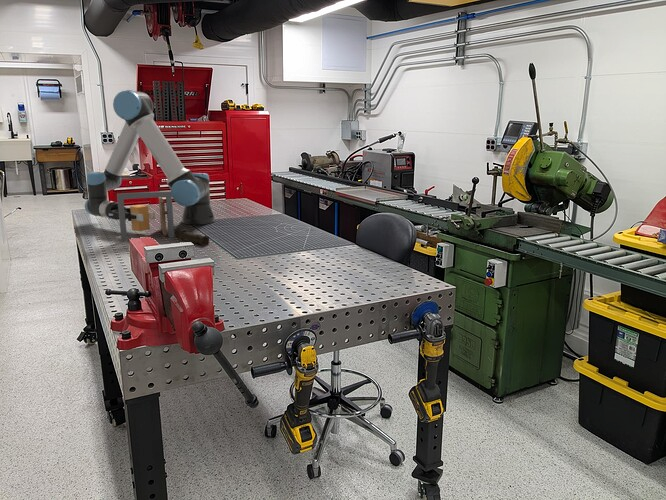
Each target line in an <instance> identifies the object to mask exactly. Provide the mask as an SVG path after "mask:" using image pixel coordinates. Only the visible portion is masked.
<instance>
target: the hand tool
mask: <svg viewBox="0 0 666 500" xmlns="http://www.w3.org/2000/svg"><path fill="white" fill-rule="evenodd" d="M174 238H175V239H176V238H177V240H179V241H181V240H182V241H187V242H191V243H194V244H199V245H201V246H202V247H204V246H208V245H209V244H210V237H209V236H208V235H202V234H195V233H192V232H188V231H187V230H186V229H183V228H179V227H177V228H176V229H175V228H174Z"/></svg>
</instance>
